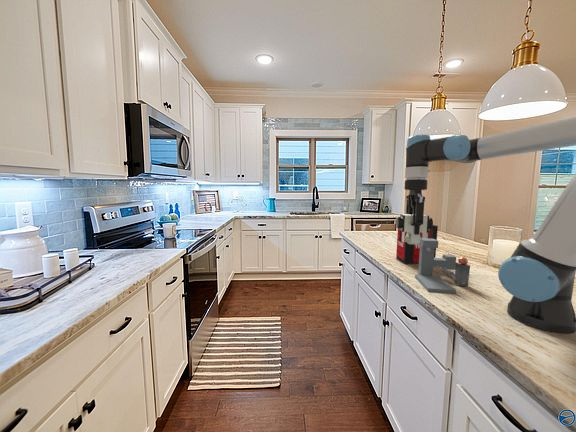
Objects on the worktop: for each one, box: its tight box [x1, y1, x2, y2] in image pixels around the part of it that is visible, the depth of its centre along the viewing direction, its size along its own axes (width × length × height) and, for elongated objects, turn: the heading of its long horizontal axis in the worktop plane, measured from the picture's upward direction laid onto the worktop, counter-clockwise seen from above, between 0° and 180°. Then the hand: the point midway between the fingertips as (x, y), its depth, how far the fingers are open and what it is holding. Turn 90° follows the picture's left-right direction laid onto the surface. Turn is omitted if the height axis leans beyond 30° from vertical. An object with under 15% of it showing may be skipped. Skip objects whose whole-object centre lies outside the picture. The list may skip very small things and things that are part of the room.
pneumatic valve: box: [395, 213, 434, 245], centre depth 96 cm, size 6×12×12 cm, turn 79°
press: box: [414, 238, 457, 294], centre depth 107 cm, size 24×18×17 cm
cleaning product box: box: [395, 224, 439, 265], centre depth 136 cm, size 16×9×20 cm, turn 94°
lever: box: [440, 256, 471, 287], centre depth 112 cm, size 20×4×11 cm, turn 171°
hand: (412, 241), depth 96 cm, fingers closed on pneumatic valve, 5 cm apart
